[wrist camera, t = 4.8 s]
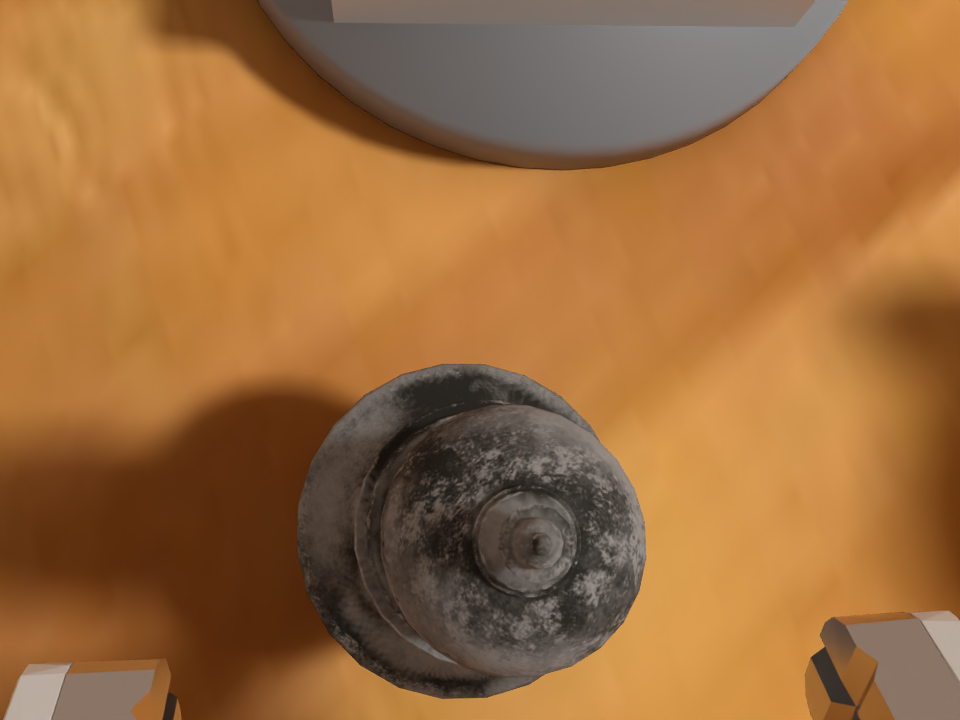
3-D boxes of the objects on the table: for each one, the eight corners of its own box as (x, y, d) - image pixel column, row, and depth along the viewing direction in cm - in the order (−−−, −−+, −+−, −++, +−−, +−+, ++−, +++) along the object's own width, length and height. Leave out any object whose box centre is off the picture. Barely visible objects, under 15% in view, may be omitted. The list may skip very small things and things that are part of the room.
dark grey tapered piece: (425, 724, 19) (482, 1093, 7) (257, 498, 19) (41, 481, 7) (638, 546, 20) (1006, 603, 8) (475, 336, 20) (594, 91, 8)
